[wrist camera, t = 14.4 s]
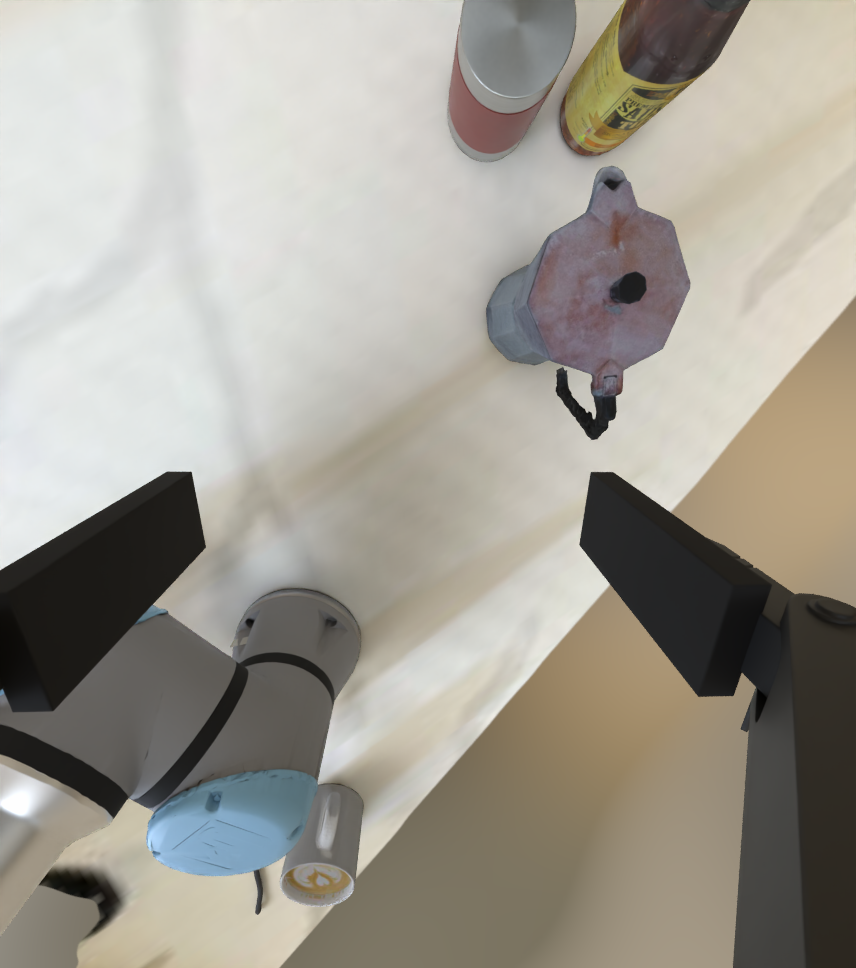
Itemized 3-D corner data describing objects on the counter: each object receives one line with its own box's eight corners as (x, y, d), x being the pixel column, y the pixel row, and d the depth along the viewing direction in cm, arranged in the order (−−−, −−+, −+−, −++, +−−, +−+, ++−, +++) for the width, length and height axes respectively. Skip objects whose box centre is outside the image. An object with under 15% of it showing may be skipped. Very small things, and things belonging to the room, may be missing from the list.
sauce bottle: (571, 175, 37) (731, 23, 18) (546, 93, 34) (697, -173, 16) (644, 134, 36) (891, -70, 17) (622, 47, 34) (877, -291, 15)
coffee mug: (349, 831, 68) (339, 913, 59) (290, 816, 66) (269, 897, 57) (381, 779, 64) (375, 858, 54) (319, 762, 62) (302, 840, 53)
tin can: (526, 163, 36) (569, 100, 26) (446, 162, 36) (457, 98, 26) (533, 59, 34) (585, -56, 23) (447, 57, 33) (461, -59, 23)
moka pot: (578, 218, 38) (737, 118, 19) (586, 389, 43) (715, 441, 25) (473, 240, 38) (529, 161, 19) (494, 407, 44) (553, 470, 25)
